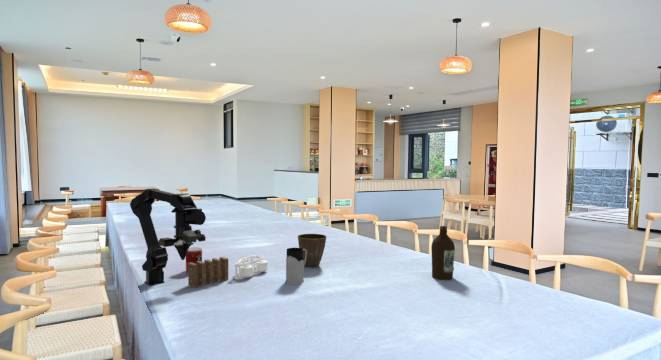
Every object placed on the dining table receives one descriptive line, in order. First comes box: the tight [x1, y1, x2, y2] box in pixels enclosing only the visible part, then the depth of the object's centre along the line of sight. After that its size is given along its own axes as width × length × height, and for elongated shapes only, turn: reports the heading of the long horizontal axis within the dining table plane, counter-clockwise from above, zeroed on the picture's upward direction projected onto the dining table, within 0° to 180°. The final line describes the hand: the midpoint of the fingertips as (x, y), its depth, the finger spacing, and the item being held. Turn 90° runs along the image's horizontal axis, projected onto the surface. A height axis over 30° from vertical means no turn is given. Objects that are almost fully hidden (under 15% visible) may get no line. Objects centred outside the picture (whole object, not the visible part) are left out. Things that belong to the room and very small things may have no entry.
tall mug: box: [284, 247, 307, 285], centre depth 186 cm, size 9×14×15 cm, turn 152°
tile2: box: [196, 260, 207, 287], centre depth 179 cm, size 2×5×10 cm, turn 46°
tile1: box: [187, 262, 198, 289], centre depth 176 cm, size 2×5×10 cm, turn 46°
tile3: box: [203, 259, 214, 285], centre depth 181 cm, size 2×5×10 cm, turn 46°
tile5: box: [218, 256, 229, 281], centre depth 187 cm, size 2×5×10 cm, turn 46°
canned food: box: [185, 246, 203, 273], centre depth 201 cm, size 8×8×11 cm
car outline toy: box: [234, 254, 268, 280], centre depth 195 cm, size 20×11×7 cm, turn 150°
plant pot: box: [297, 233, 327, 269], centre depth 212 cm, size 15×15×16 cm
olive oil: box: [430, 225, 456, 281], centre depth 191 cm, size 11×11×25 cm
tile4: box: [211, 257, 222, 283], centre depth 184 cm, size 2×5×10 cm, turn 46°
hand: (182, 259), depth 173 cm, fingers closed
